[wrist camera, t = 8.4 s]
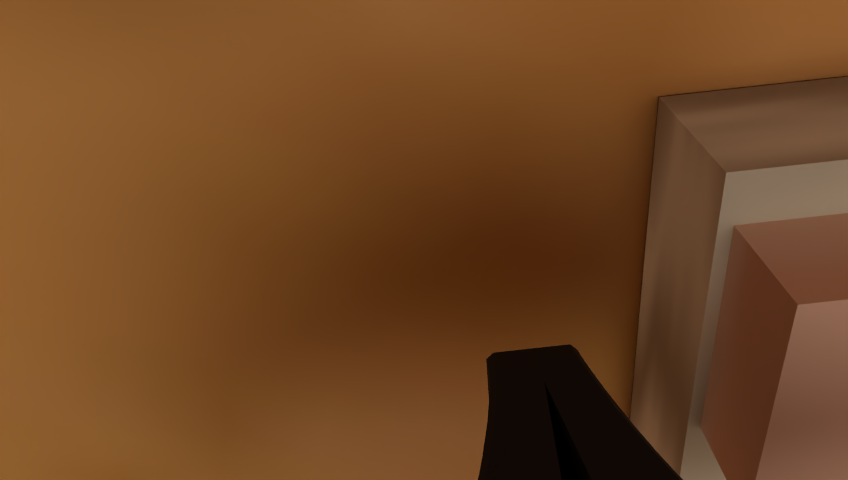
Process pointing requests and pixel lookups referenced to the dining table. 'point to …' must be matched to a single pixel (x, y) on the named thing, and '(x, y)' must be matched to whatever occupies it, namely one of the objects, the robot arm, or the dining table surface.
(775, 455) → the terracotta tile
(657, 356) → the birch board
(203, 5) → the dining table surface
